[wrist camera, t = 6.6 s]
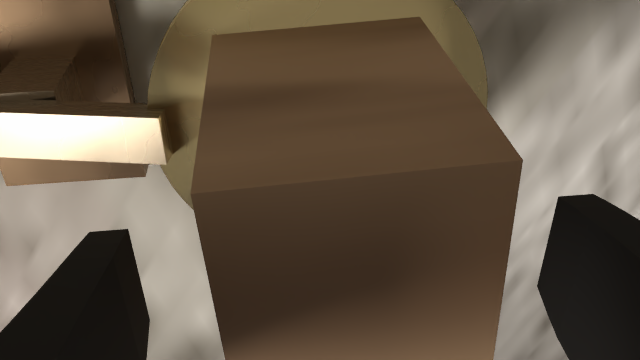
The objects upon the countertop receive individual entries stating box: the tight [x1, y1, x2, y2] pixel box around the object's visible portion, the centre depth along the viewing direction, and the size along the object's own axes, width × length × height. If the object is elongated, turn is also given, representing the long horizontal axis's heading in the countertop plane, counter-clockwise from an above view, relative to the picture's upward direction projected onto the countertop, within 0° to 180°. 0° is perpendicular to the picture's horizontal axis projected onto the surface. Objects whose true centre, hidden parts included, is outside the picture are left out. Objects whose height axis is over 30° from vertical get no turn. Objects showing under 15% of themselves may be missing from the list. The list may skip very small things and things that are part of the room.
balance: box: [0, 0, 488, 210], centre depth 15 cm, size 8×22×4 cm, turn 91°
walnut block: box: [190, 17, 523, 360], centre depth 12 cm, size 4×4×6 cm
